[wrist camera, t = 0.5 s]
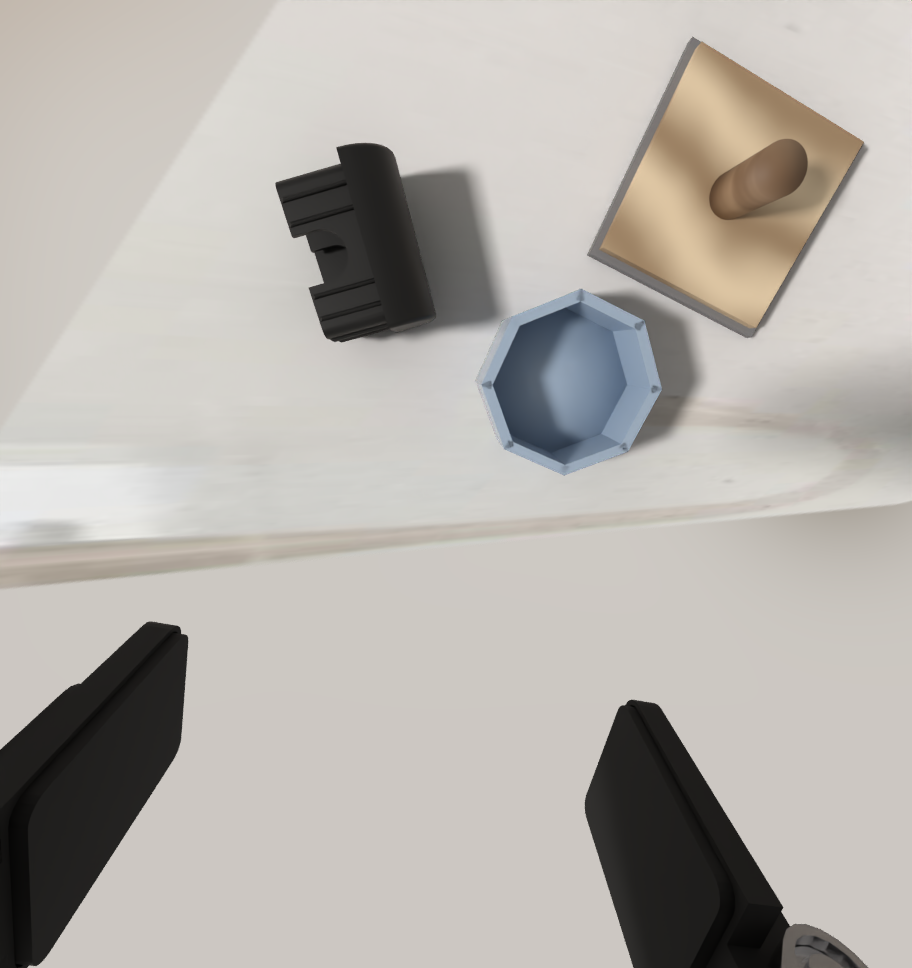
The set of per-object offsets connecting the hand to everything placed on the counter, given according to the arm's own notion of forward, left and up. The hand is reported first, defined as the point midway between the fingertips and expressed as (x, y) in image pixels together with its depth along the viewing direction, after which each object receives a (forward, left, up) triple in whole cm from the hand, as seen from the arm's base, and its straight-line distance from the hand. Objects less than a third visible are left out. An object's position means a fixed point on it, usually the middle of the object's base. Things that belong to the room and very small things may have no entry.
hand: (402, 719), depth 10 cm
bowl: (-9, +7, -29) cm, 31 cm away
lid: (-25, +12, -28) cm, 39 cm away
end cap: (-11, -9, -29) cm, 32 cm away
